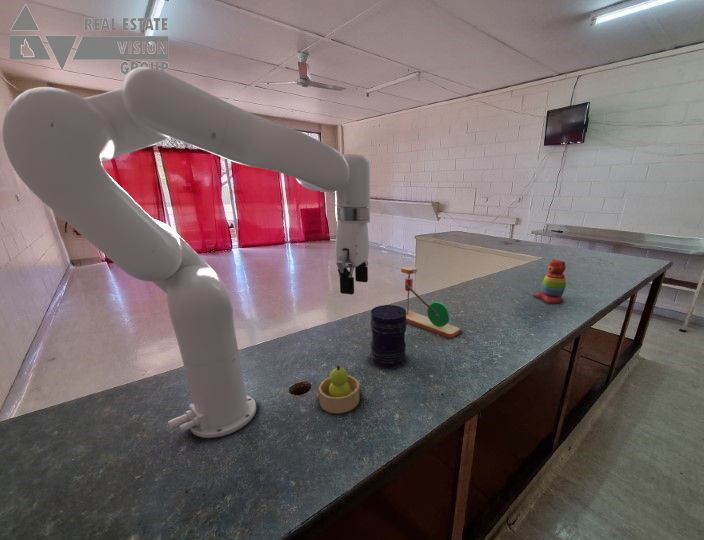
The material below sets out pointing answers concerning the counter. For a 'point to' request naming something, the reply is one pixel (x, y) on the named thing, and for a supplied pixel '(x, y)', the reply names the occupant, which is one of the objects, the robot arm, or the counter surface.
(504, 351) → the counter surface
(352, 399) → the bowl
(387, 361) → the storage jar
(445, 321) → the crank mechanism
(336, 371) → the pear plush
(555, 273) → the stacking bear
